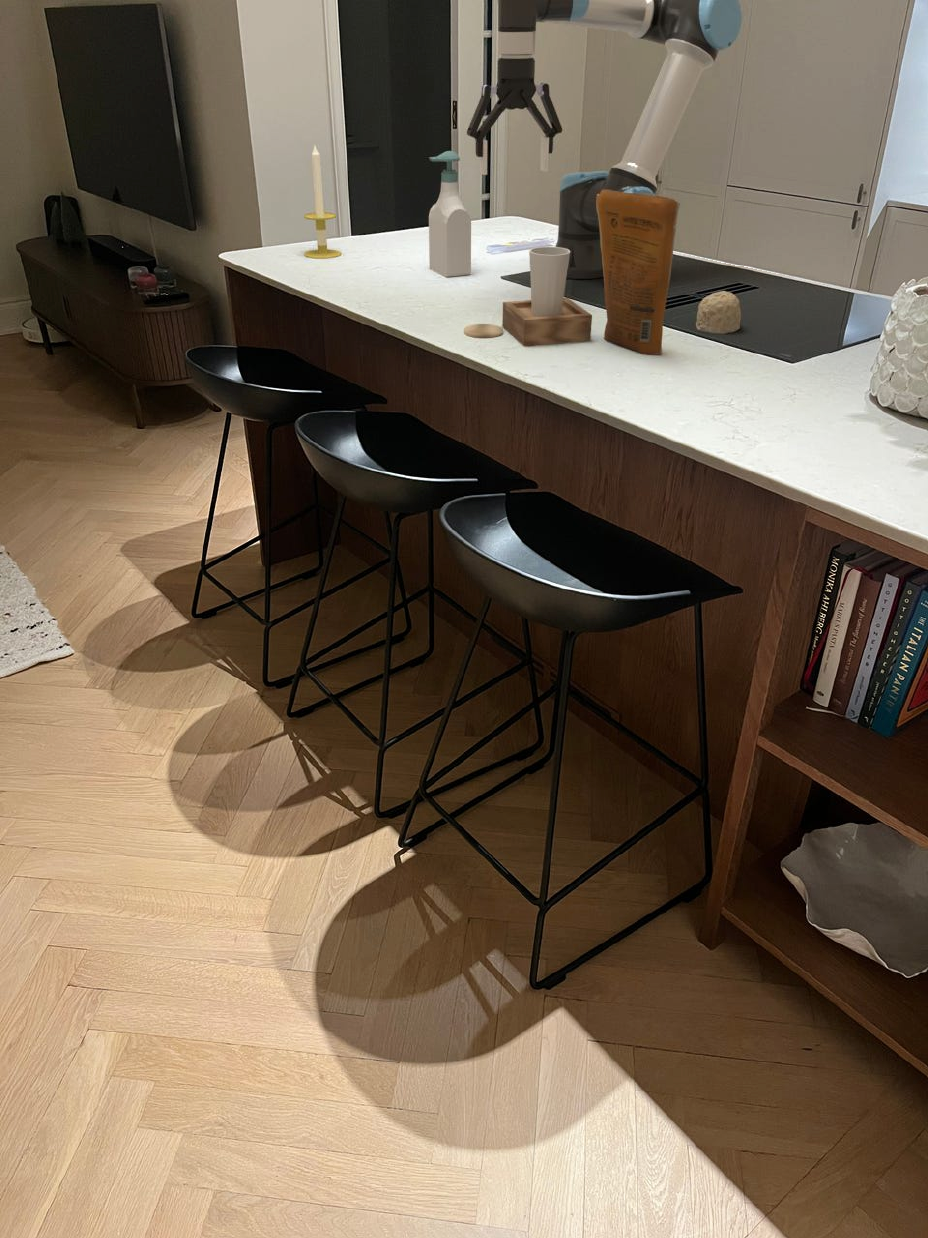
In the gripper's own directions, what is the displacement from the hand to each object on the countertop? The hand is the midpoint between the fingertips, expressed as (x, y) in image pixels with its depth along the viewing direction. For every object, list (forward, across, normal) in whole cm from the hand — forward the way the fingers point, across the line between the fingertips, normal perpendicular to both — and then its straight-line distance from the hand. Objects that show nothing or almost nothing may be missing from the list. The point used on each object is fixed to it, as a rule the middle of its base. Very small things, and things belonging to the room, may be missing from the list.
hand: (514, 172), depth 204 cm
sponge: (+27, -34, +33) cm, 54 cm away
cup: (+22, +2, +27) cm, 35 cm away
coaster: (+26, +14, +23) cm, 38 cm away
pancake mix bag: (+27, -11, +40) cm, 49 cm away
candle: (+26, +33, -58) cm, 72 cm away
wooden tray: (+26, +2, +27) cm, 38 cm away
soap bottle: (+27, +7, -30) cm, 41 cm away
